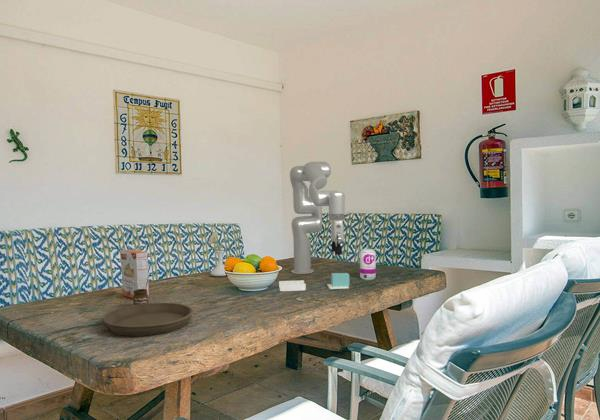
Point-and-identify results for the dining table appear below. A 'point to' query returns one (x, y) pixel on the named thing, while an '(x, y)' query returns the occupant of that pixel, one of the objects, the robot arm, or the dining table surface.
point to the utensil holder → (140, 295)
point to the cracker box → (134, 271)
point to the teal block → (339, 279)
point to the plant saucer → (147, 318)
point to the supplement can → (367, 264)
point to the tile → (336, 287)
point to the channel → (292, 285)
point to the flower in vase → (220, 267)
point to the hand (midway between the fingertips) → (336, 252)
